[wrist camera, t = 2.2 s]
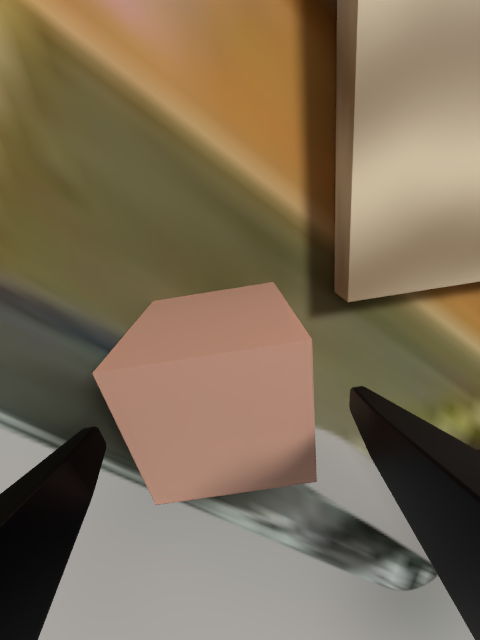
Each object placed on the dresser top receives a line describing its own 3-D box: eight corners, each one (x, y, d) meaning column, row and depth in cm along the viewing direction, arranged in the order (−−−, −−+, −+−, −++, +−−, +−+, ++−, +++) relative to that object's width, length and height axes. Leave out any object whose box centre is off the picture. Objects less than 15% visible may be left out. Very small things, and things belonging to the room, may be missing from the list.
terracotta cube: (282, 379, 14) (316, 481, 9) (182, 394, 15) (155, 505, 9) (273, 281, 12) (311, 339, 7) (153, 300, 12) (92, 373, 7)
